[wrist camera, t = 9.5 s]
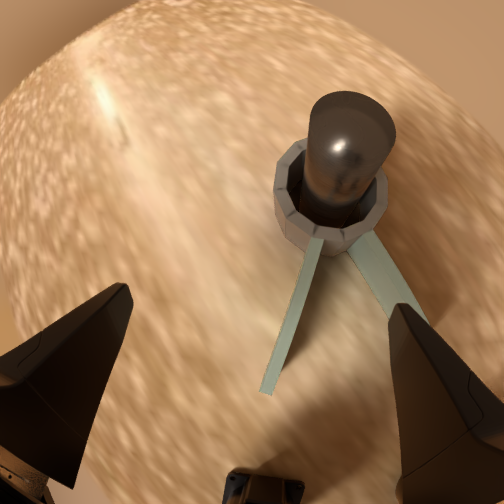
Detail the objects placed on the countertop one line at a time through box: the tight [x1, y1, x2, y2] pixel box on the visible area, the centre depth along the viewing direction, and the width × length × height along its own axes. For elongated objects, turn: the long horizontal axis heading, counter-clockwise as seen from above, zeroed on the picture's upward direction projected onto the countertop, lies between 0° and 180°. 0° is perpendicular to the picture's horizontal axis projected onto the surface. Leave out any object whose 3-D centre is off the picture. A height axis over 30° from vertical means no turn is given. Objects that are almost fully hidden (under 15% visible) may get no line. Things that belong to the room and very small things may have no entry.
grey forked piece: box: [259, 138, 430, 396], centre depth 20 cm, size 18×13×5 cm
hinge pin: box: [299, 91, 396, 229], centre depth 18 cm, size 4×4×12 cm
